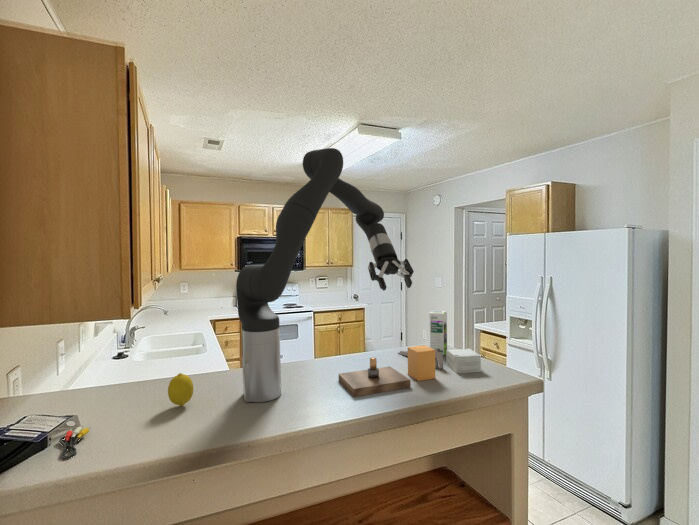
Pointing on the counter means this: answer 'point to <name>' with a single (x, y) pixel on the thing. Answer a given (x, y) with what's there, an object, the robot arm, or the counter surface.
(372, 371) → the grey and tan knob
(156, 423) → the counter surface
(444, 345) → the syrup box
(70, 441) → the composite cable
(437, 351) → the caliper
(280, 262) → the robot arm
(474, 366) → the small box
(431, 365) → the orange rectangular block
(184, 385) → the lemon
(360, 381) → the board
